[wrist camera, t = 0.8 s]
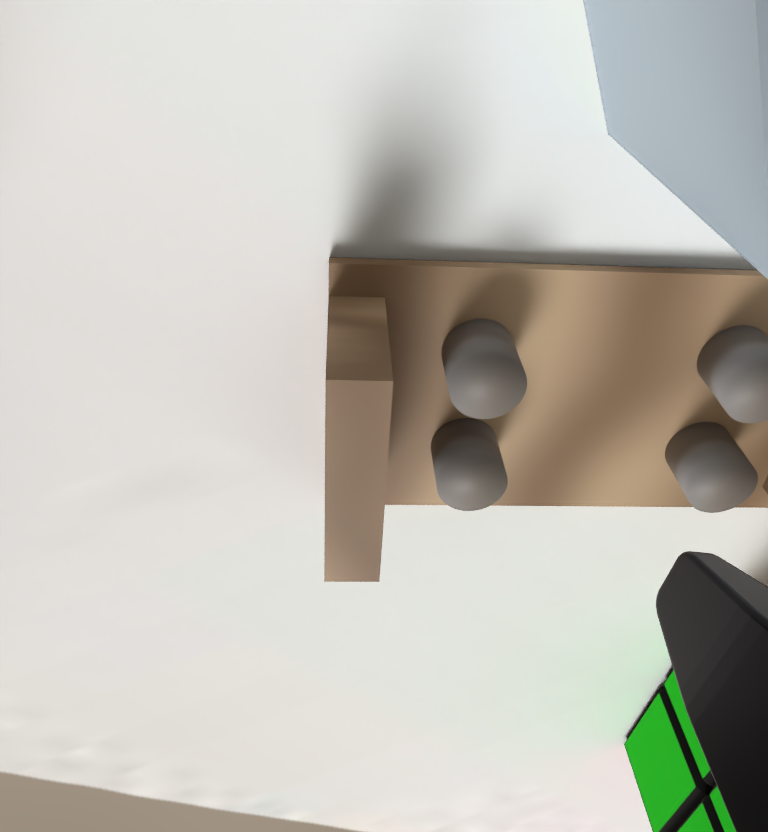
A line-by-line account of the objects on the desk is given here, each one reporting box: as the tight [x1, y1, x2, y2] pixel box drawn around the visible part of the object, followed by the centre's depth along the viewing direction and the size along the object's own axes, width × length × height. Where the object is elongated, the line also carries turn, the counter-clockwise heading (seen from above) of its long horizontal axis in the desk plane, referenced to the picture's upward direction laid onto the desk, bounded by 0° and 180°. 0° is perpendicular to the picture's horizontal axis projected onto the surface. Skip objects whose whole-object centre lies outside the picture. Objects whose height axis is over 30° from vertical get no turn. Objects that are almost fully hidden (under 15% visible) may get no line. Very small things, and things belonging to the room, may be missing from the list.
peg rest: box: [324, 257, 768, 582], centre depth 22 cm, size 17×9×5 cm, turn 87°
